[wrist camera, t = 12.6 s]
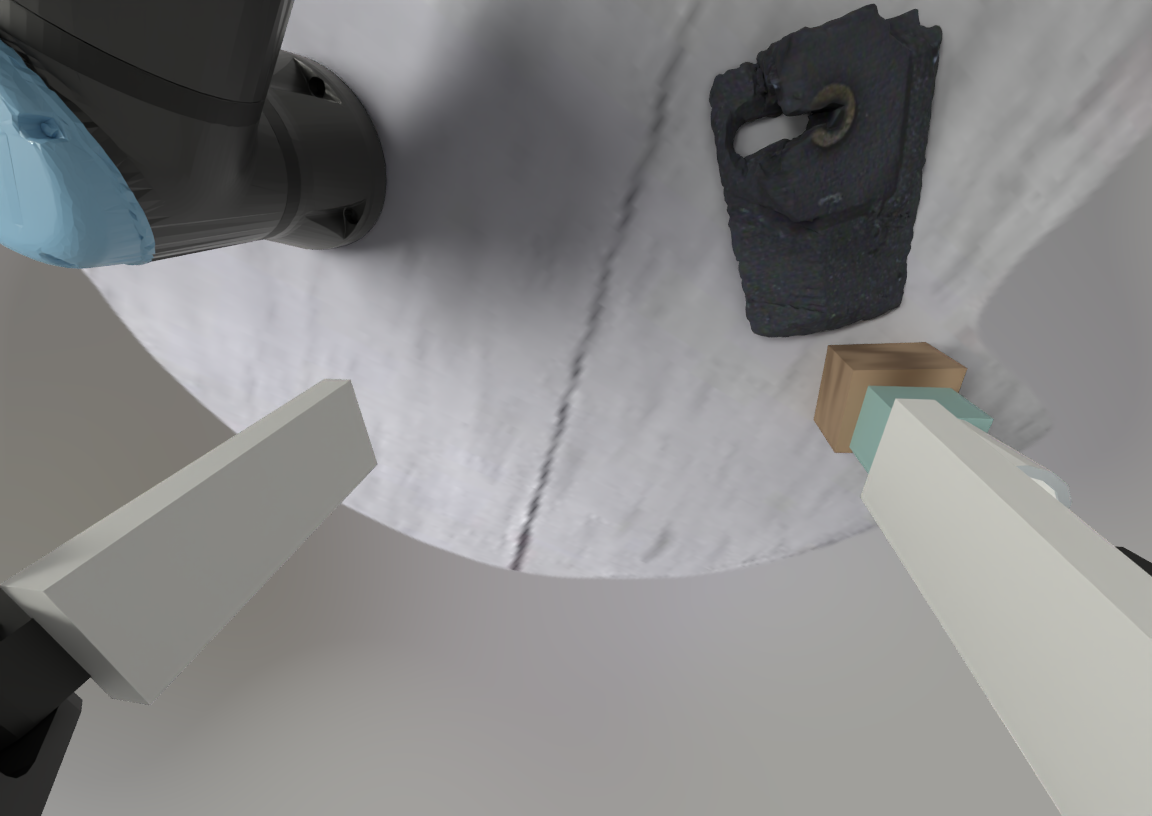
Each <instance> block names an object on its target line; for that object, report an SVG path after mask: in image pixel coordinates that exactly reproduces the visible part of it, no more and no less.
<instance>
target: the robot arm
mask: <svg viewBox="0 0 1152 816" xmlns="http://www.w3.org/2000/svg"><path fill="white" fill-rule="evenodd" d="M293 3H294V0H0V244H2V245H4V246H6V247H7V248H9V249H11V250H13V251H15V252H18V253H20V254H22V255H24V256H27V257H29V258H32V259H34V260H37V261H40V262H43V263H46V264H50V265H55V266H60V267H66V268H93V267H101V266H109V265H118V264H126V265H142V264H146V263H149V262H151V261H157V260H162V259H167V258H172V257H177V256H182V255H187V254H192V253H197V252H202V251H207V250H212V249H217V248H222V247H227V246H232V245H237V244H242V243H247V242H252V241H257V240H263V239H265V240H269V241H273V242H278V243H282V244H287V245H291V246H295V247H300V248H304V249H312V250H324V249H331V248H336V247H340V246H344V245H348V244H351V243H353V242H355V241H357V240H359V239H360V238H362V237H363V236H364V235H365V234H366V233H368V232H369V230H370V229H371V228H372V227H373V225H374V224H375V222H376V221H377V219H378V217H379V215H380V212H381V210H382V207H383V203H384V198H385V192H386V169H385V161H384V156H383V152H382V148H381V144H380V141H379V138H378V135H377V133H376V130H375V128H374V126H373V124H372V122H371V120H370V118H369V116H368V114H367V112H366V111H365V109H364V107H363V106H362V104H361V103H360V101H359V100H358V99H357V97H356V96H355V95H354V94H353V92H352V91H351V90H350V89H349V88H348V87H347V86H346V85H345V84H344V83H343V82H342V81H341V80H340V79H339V78H338V77H337V76H336V75H335V74H333V73H332V72H331V71H329V70H328V69H327V68H325V67H324V66H322V65H320V64H318V63H317V62H315V61H313V60H310V59H308V58H305V57H303V56H300V55H297V54H293V53H290V52H287V51H284V50H280V48H281V45H282V41H283V38H284V34H285V31H286V27H287V24H288V21H289V17H290V14H291V10H292V7H293ZM376 465H377V461H376V458H375V455H374V452H373V449H372V446H371V442H370V439H369V436H368V433H367V430H366V427H365V424H364V421H363V417H362V414H361V411H360V408H359V405H358V402H357V399H356V396H355V392H354V389H353V386H352V383H351V380H341V379H324V380H322V381H321V382H319V383H317V384H316V385H314V386H313V387H311V388H310V389H308V390H306V391H305V392H303V393H302V394H300V395H298V396H297V397H295V398H294V399H292V400H291V401H289V402H287V403H286V404H284V405H283V406H281V407H279V408H278V409H276V410H275V411H273V412H272V413H270V414H268V415H267V416H265V417H264V418H262V419H260V420H259V421H257V422H256V423H254V424H253V425H251V426H249V427H248V428H246V429H245V430H243V431H241V432H240V433H238V434H237V435H235V436H234V437H232V438H230V439H229V440H227V441H226V442H224V443H222V444H221V445H219V446H218V447H216V448H214V449H213V450H211V451H210V452H208V453H207V454H205V455H203V456H202V457H201V458H199V459H197V460H196V461H194V462H192V463H191V464H189V465H188V466H186V467H185V468H183V469H181V470H180V471H178V472H177V473H175V474H173V475H172V476H170V477H169V478H167V479H166V480H164V481H163V482H161V483H159V484H157V485H156V486H154V487H153V488H151V489H150V490H148V491H146V492H145V493H143V494H142V495H140V496H139V497H137V498H135V499H134V500H132V501H131V502H129V503H127V504H126V505H125V506H123V507H121V508H119V509H118V510H116V511H115V512H113V513H112V514H110V515H108V516H107V517H105V518H104V519H102V520H100V521H99V522H97V523H96V524H94V525H93V526H91V527H89V528H88V529H86V530H85V531H83V532H82V533H80V534H78V535H77V536H75V537H74V538H72V539H70V540H69V541H67V542H66V543H64V544H62V545H61V546H59V547H58V548H56V549H54V550H53V551H51V552H50V553H48V554H47V555H45V556H43V557H42V558H40V559H39V560H37V561H36V562H34V563H33V564H31V565H29V566H28V567H26V568H25V569H23V570H21V571H20V572H18V573H17V574H15V575H13V576H12V577H10V578H9V579H7V580H5V581H4V582H2V583H1V584H0V816H41V814H42V812H43V809H44V807H45V804H46V801H47V799H48V796H49V794H50V791H51V788H52V786H53V783H54V781H55V778H56V776H57V773H58V770H59V768H60V765H61V763H62V760H63V757H64V755H65V752H66V750H67V747H68V745H69V742H70V739H71V737H72V734H73V731H74V729H75V726H76V724H77V721H78V719H79V716H80V713H81V709H82V699H81V698H80V697H78V695H77V694H75V693H74V691H76V690H77V689H78V688H79V687H80V686H81V685H82V684H83V683H85V682H86V681H87V680H88V679H89V678H90V677H91V678H92V679H93V680H94V681H95V682H96V683H97V684H98V685H99V686H100V687H101V688H102V689H103V690H104V691H105V692H106V693H107V694H108V695H109V696H110V697H111V698H112V699H118V700H123V701H129V702H134V703H140V704H145V705H151V704H152V703H153V702H154V701H155V700H156V699H157V698H158V697H159V695H160V694H161V693H162V692H163V691H164V690H165V689H166V688H167V687H168V686H169V685H170V684H171V683H172V682H173V681H174V679H175V678H176V677H177V676H178V675H179V674H180V673H181V672H182V671H183V670H184V669H185V667H187V666H188V665H189V664H190V663H191V661H192V660H193V659H194V658H195V657H196V656H197V655H198V654H199V653H200V652H201V651H202V650H203V649H204V648H205V647H206V646H207V645H208V644H209V642H210V641H211V640H212V639H213V638H214V637H215V636H216V635H217V634H218V633H219V632H220V631H221V630H222V629H223V628H224V627H225V625H226V624H227V623H228V622H229V621H230V620H231V619H232V618H233V617H234V616H235V615H236V614H237V613H238V612H239V611H240V610H241V609H242V607H243V606H244V605H245V604H246V603H247V602H248V601H249V600H250V599H251V598H252V597H253V596H254V595H255V594H256V592H258V591H259V589H260V588H261V587H262V586H263V585H264V584H265V583H266V582H267V581H268V580H269V579H270V578H271V577H272V576H273V575H274V573H275V572H276V571H277V570H278V569H279V568H280V567H281V566H282V565H283V564H284V563H285V562H286V561H287V560H288V559H289V558H290V557H291V555H292V554H293V553H294V552H295V551H296V550H297V549H298V548H299V547H300V546H301V545H302V544H303V543H304V541H306V539H308V537H309V536H310V535H311V534H312V533H313V532H314V531H315V530H316V529H317V528H318V527H319V526H320V525H321V524H322V523H323V522H324V521H325V519H326V518H327V517H328V516H329V515H330V514H331V513H332V512H333V511H334V510H335V509H336V508H337V507H338V506H339V505H340V504H341V503H342V501H343V500H344V499H345V498H346V497H347V496H348V495H349V494H350V493H351V492H352V491H353V490H354V489H355V488H356V487H357V486H358V484H359V483H360V482H361V481H362V480H363V479H364V478H365V477H366V476H367V475H368V474H369V473H370V472H371V471H372V470H373V469H374V468H375V466H376ZM861 499H862V500H863V502H864V504H865V505H866V507H867V508H868V510H869V511H870V513H871V515H872V516H873V518H874V519H875V521H876V523H877V524H878V526H879V527H880V529H881V530H882V532H883V534H884V535H885V537H886V538H887V540H888V541H889V543H890V545H891V546H892V548H893V549H894V551H895V553H896V554H897V556H898V557H899V559H900V561H901V562H902V564H903V565H904V567H905V568H906V570H907V572H908V573H909V575H910V576H911V578H912V579H913V581H914V583H915V584H916V586H917V587H918V589H919V590H920V592H921V593H922V595H923V597H924V598H925V600H926V602H927V603H928V605H929V606H930V608H931V609H932V611H933V613H934V614H935V616H936V617H937V619H938V621H939V622H940V624H941V625H942V627H943V628H944V630H945V632H946V633H947V635H948V636H949V638H950V640H951V641H952V643H953V644H954V646H955V648H956V649H957V651H958V652H959V654H960V655H961V657H962V658H963V660H964V662H965V663H966V665H967V666H968V668H969V670H970V671H971V673H972V674H973V676H974V678H975V679H976V681H977V682H978V684H979V685H980V687H981V689H982V690H983V692H984V693H985V695H986V697H987V698H988V700H989V701H990V703H991V704H992V706H993V708H994V709H995V711H996V712H997V714H998V715H999V717H1000V719H1001V720H1002V722H1003V723H1004V725H1005V726H1006V728H1007V730H1008V731H1009V733H1010V734H1011V736H1012V738H1013V739H1014V741H1015V742H1016V744H1017V746H1018V747H1019V749H1020V750H1021V752H1022V753H1023V755H1024V757H1025V758H1026V760H1027V761H1028V763H1029V764H1030V766H1031V768H1032V769H1033V771H1034V772H1035V774H1036V776H1037V777H1038V779H1039V780H1040V782H1041V783H1042V785H1043V787H1044V788H1045V790H1046V791H1047V793H1048V795H1049V796H1050V798H1051V799H1052V801H1053V802H1054V804H1055V805H1056V807H1057V809H1058V810H1059V812H1060V814H1061V815H1062V816H1152V563H1151V562H1149V561H1147V560H1145V559H1143V558H1141V557H1140V556H1138V555H1136V554H1135V553H1133V552H1131V551H1129V550H1127V549H1126V548H1124V547H1115V546H1113V545H1112V544H1111V543H1110V542H1109V541H1107V540H1106V539H1105V538H1104V537H1102V536H1101V535H1100V534H1099V533H1097V532H1096V531H1095V530H1094V529H1093V528H1091V527H1090V526H1089V525H1088V524H1086V523H1085V522H1084V521H1083V520H1082V519H1080V518H1079V517H1078V516H1076V515H1075V514H1074V513H1073V512H1072V511H1071V510H1069V509H1068V508H1067V507H1066V506H1064V505H1063V504H1062V503H1061V502H1059V501H1058V500H1057V499H1056V498H1055V497H1053V496H1052V495H1051V494H1050V493H1048V492H1047V491H1046V490H1045V489H1044V488H1042V487H1041V486H1040V485H1039V484H1037V483H1036V482H1035V481H1034V480H1033V479H1031V478H1030V477H1029V476H1028V475H1026V474H1025V473H1024V472H1023V471H1021V470H1020V469H1019V468H1018V467H1017V466H1015V465H1014V464H1013V463H1012V462H1010V461H1009V460H1008V459H1007V458H1006V457H1004V456H1003V455H1002V454H1001V453H999V452H998V451H997V450H996V449H995V448H993V447H992V446H991V445H990V444H988V443H987V442H986V441H985V440H983V439H982V438H981V437H980V436H979V435H977V434H976V433H975V432H974V431H972V430H971V429H970V428H969V427H968V426H966V425H965V424H964V423H963V422H961V421H960V420H959V419H958V418H956V417H955V416H954V415H953V414H952V413H950V412H949V411H948V410H947V409H945V408H944V407H943V406H942V405H941V404H939V403H938V402H937V401H936V400H926V399H897V398H895V401H894V404H893V407H892V410H891V412H890V415H889V418H888V421H887V424H886V426H885V429H884V432H883V435H882V438H881V440H880V443H879V446H878V449H877V452H876V454H875V457H874V460H873V463H872V466H871V469H870V471H869V474H868V477H867V480H866V483H865V485H864V488H863V491H862V494H861Z"/></svg>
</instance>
